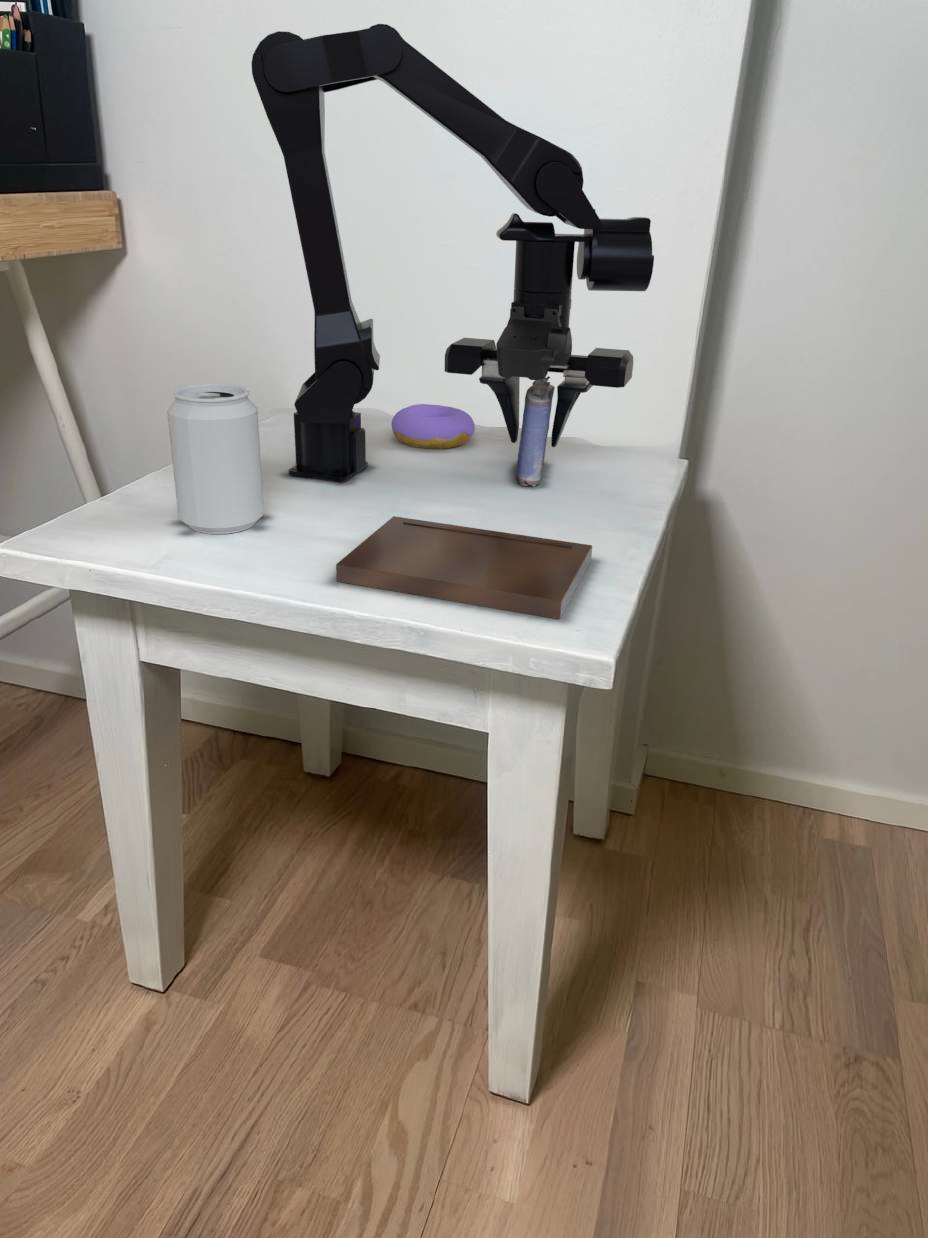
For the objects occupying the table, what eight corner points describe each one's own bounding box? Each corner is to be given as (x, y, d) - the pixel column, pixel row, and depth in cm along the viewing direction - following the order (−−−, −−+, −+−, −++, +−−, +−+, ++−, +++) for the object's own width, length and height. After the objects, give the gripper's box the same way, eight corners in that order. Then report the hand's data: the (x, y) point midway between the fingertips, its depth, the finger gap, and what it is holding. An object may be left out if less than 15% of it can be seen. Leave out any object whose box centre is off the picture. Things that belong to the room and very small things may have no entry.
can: (279, 515, 85) (272, 385, 80) (236, 542, 79) (225, 402, 74) (209, 504, 87) (198, 376, 82) (161, 529, 81) (146, 392, 76)
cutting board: (336, 581, 72) (335, 562, 72) (393, 531, 83) (393, 514, 82) (559, 619, 68) (561, 599, 67) (591, 561, 78) (592, 543, 77)
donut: (380, 444, 107) (382, 401, 105) (401, 441, 115) (404, 401, 114) (464, 452, 105) (467, 409, 104) (479, 448, 114) (483, 408, 112)
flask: (539, 488, 95) (552, 384, 91) (511, 484, 96) (523, 380, 91) (545, 463, 104) (557, 366, 99) (519, 460, 104) (530, 363, 99)
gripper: (426, 293, 87) (425, 454, 94) (623, 305, 82) (607, 475, 89) (462, 281, 97) (459, 428, 103) (641, 292, 92) (625, 445, 98)
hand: (533, 444), depth 98 cm, fingers closed on flask, 4 cm apart
